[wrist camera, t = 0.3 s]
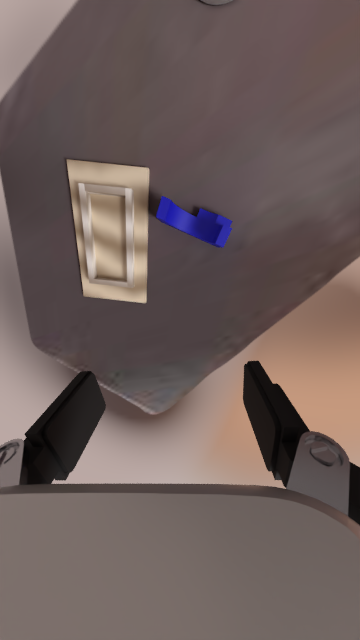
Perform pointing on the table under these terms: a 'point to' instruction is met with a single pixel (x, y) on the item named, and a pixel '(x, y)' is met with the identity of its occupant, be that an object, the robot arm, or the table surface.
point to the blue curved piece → (195, 223)
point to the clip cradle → (111, 228)
